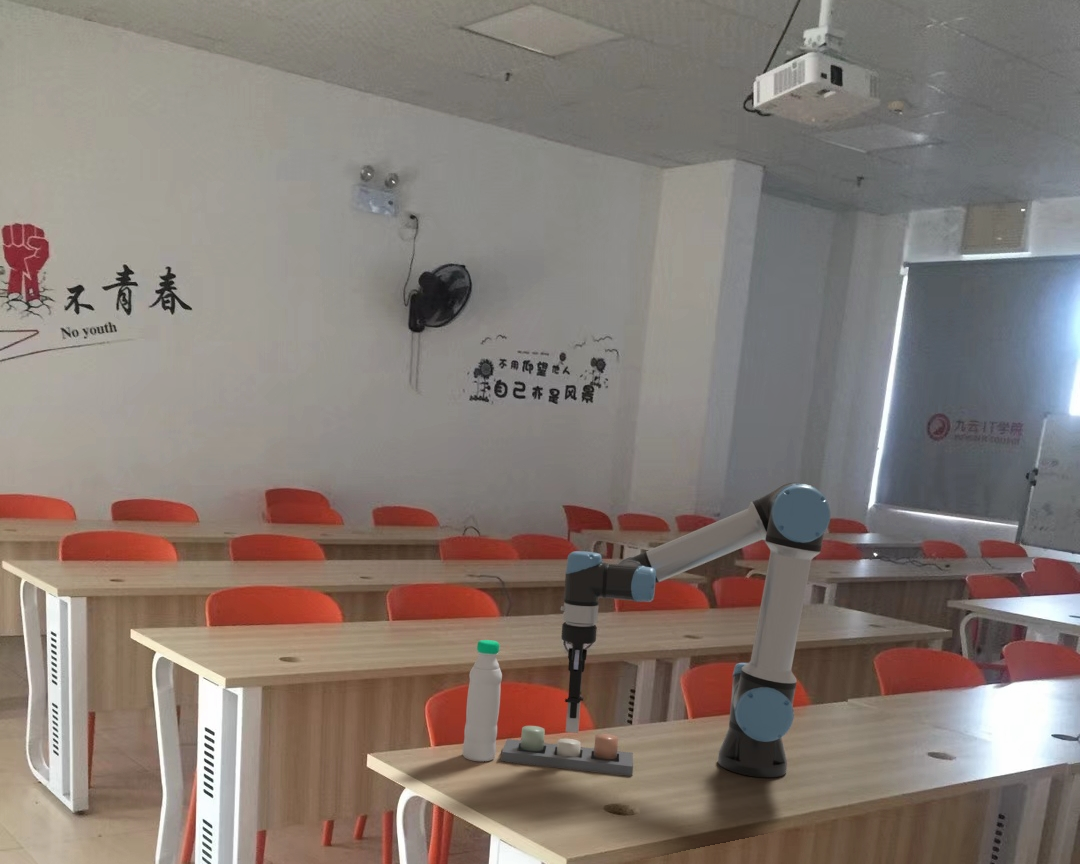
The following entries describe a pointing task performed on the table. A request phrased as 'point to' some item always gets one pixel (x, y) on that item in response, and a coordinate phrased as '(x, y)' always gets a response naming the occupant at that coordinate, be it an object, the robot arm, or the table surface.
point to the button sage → (532, 738)
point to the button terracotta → (606, 746)
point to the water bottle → (483, 704)
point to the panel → (568, 759)
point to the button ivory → (568, 748)
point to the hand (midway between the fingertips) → (572, 731)
